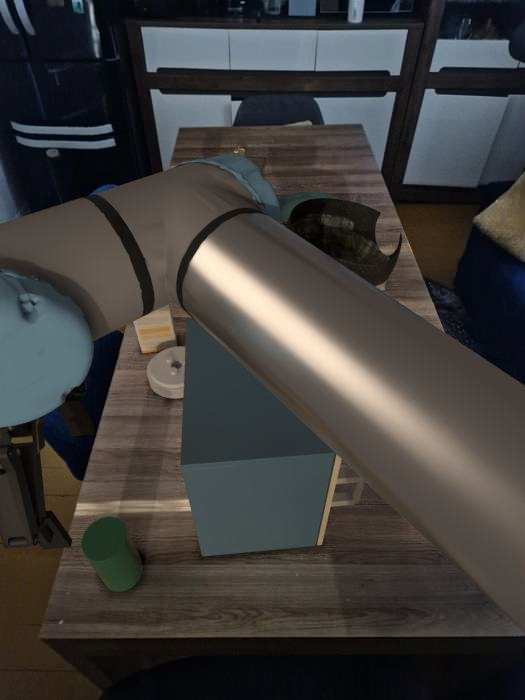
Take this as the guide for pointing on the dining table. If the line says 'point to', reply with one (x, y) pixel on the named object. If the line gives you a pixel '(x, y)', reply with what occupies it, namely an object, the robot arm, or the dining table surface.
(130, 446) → the dining table surface
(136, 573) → the tea tin
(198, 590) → the dining table surface
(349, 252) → the basket
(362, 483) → the cabinet door
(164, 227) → the robot arm
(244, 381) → the cabinet
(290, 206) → the saucer
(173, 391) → the lid
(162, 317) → the supplement box
